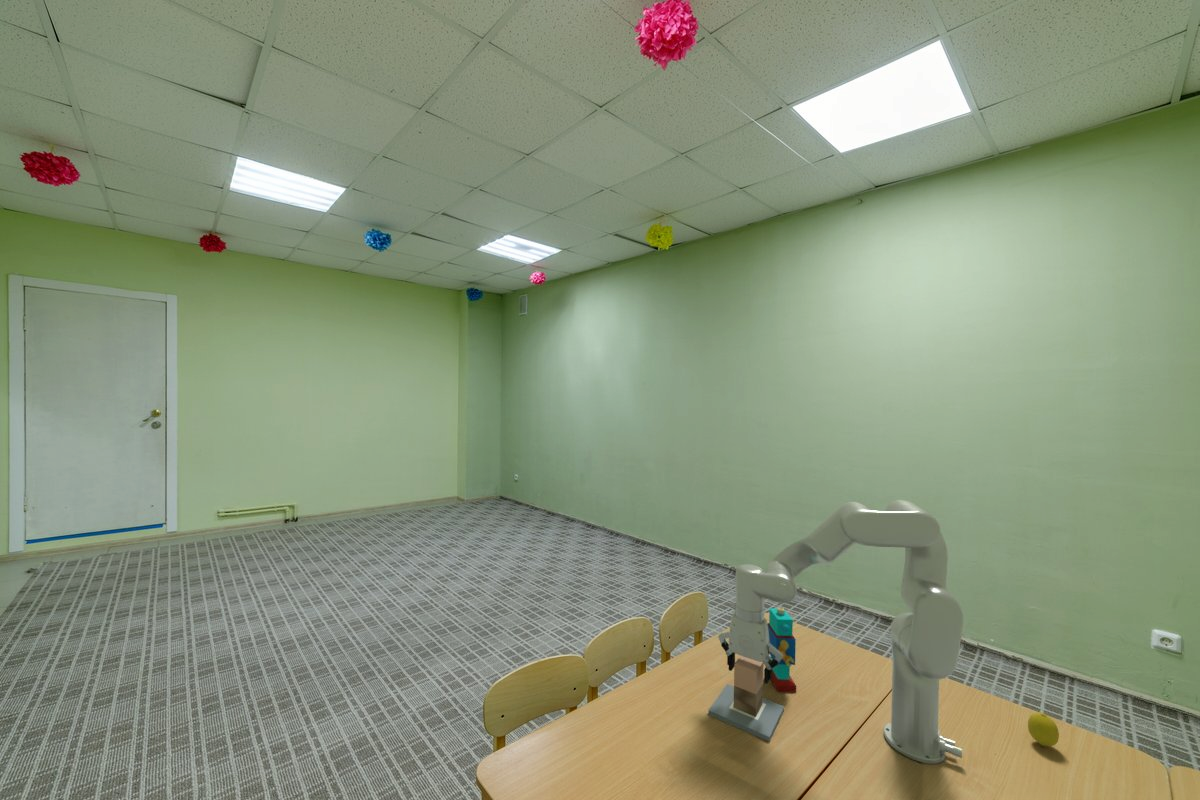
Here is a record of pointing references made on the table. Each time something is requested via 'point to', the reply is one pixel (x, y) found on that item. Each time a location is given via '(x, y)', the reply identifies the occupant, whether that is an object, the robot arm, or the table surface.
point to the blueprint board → (747, 715)
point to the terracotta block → (748, 674)
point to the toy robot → (782, 648)
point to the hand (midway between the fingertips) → (749, 674)
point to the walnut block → (748, 700)
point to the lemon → (1043, 729)
